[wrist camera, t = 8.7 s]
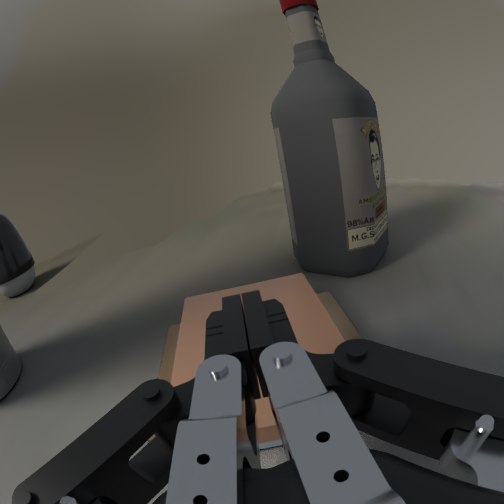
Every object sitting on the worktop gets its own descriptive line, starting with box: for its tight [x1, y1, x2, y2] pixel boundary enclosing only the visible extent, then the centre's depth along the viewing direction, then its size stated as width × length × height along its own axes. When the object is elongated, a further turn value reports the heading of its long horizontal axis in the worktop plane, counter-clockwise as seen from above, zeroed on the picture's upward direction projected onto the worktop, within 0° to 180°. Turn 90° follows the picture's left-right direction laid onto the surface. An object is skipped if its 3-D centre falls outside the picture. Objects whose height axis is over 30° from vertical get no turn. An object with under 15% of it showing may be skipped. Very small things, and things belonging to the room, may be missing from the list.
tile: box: [171, 273, 345, 449], centre depth 18 cm, size 10×2×14 cm
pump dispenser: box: [0, 214, 35, 297], centre depth 38 cm, size 10×10×15 cm
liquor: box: [271, 0, 388, 277], centre depth 25 cm, size 9×9×30 cm
